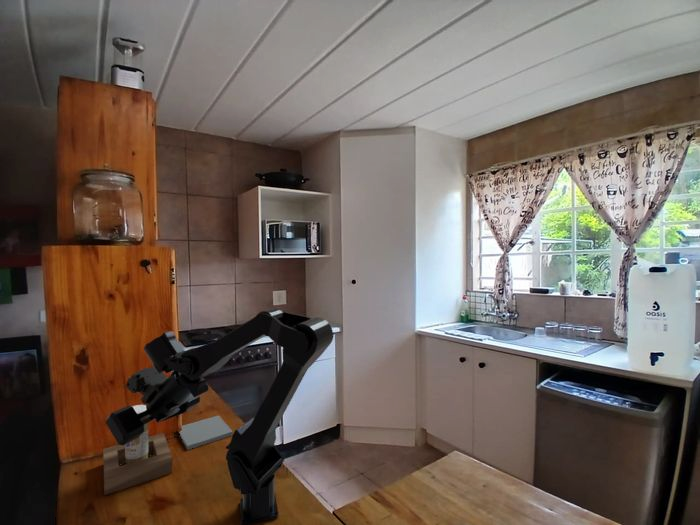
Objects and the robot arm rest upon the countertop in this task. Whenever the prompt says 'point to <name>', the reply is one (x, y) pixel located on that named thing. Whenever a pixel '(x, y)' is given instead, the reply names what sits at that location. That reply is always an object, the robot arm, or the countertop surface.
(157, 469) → the bottle holder
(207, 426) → the slate mat
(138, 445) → the sprinkles bottle
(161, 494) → the countertop surface
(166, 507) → the countertop surface
